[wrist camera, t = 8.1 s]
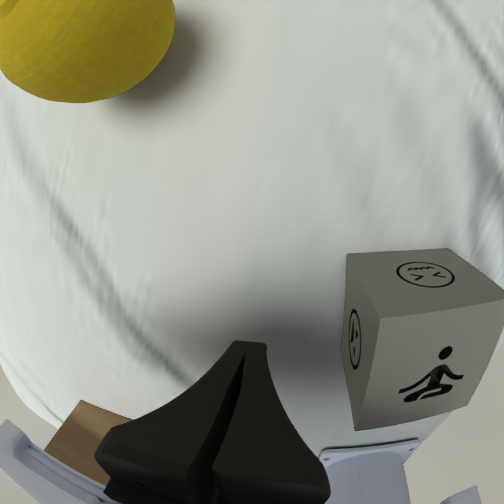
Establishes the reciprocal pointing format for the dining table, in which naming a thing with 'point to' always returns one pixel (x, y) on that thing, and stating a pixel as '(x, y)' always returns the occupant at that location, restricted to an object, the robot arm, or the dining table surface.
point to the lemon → (82, 45)
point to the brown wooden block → (84, 439)
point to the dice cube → (415, 334)
